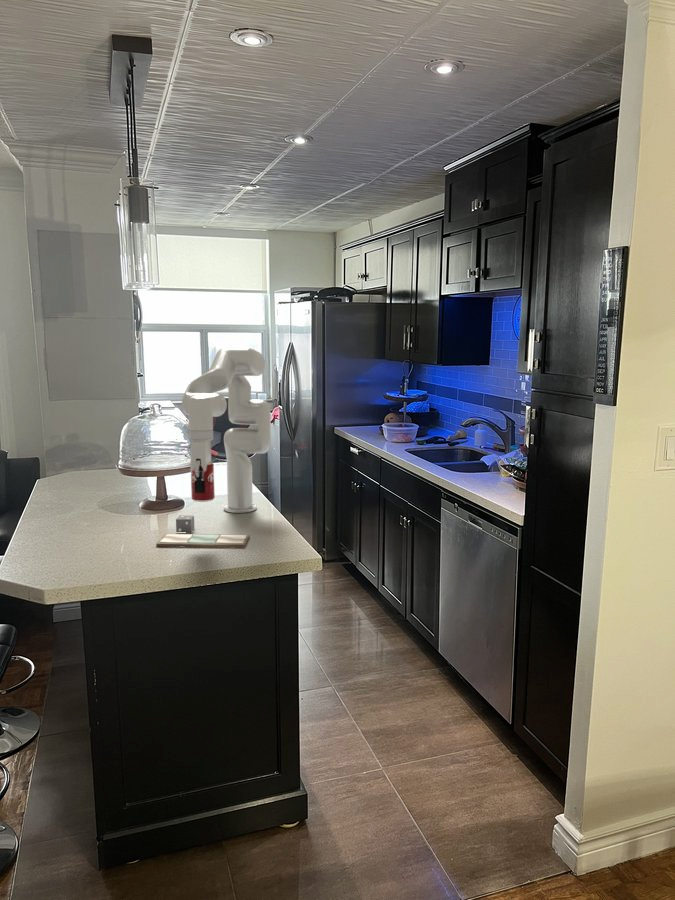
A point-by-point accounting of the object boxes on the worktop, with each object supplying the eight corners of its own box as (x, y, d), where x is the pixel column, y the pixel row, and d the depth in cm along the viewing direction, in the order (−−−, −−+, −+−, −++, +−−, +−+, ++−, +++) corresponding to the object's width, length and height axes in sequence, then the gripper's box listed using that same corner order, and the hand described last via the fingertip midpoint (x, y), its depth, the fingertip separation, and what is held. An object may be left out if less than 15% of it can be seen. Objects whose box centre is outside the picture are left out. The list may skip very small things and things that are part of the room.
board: (165, 536, 223) (165, 533, 223) (249, 537, 222) (249, 534, 222) (156, 546, 212) (156, 543, 212) (244, 547, 212) (244, 544, 211)
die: (180, 529, 232) (179, 515, 231) (194, 529, 232) (194, 515, 231) (176, 533, 227) (175, 519, 226) (191, 533, 227) (190, 519, 226)
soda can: (192, 503, 211) (191, 465, 208) (191, 497, 217) (189, 461, 215) (215, 501, 212) (214, 464, 210) (213, 496, 219) (212, 460, 217)
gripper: (195, 431, 220) (197, 483, 223) (182, 439, 203) (184, 496, 206) (218, 431, 220) (219, 483, 223) (207, 439, 203) (208, 496, 206)
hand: (202, 489), depth 214 cm, fingers closed on soda can, 7 cm apart
